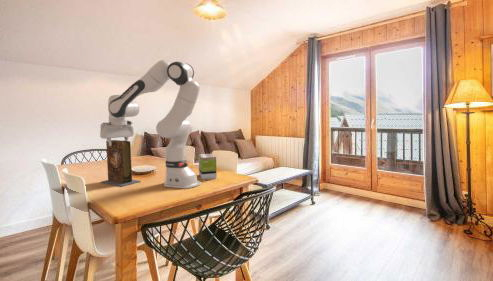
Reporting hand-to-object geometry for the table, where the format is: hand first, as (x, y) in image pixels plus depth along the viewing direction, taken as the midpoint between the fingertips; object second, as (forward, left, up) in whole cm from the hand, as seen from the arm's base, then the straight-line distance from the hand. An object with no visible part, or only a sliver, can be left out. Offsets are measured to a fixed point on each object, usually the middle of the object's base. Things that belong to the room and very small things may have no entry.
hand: (118, 145), depth 158 cm
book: (0, 0, -23) cm, 23 cm away
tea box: (-39, -37, -23) cm, 59 cm away
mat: (-1, 0, -23) cm, 23 cm away
